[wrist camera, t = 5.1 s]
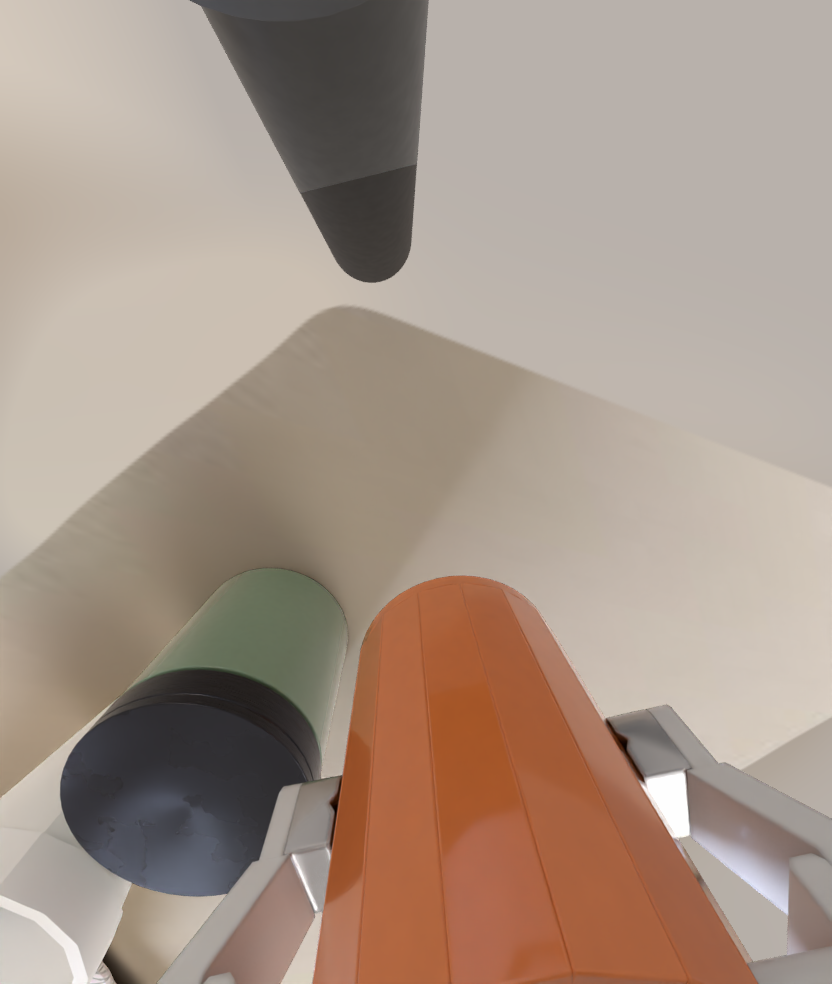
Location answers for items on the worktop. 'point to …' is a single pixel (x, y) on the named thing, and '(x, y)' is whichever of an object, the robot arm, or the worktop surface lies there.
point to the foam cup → (51, 885)
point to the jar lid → (185, 779)
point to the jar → (268, 641)
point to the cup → (501, 817)
